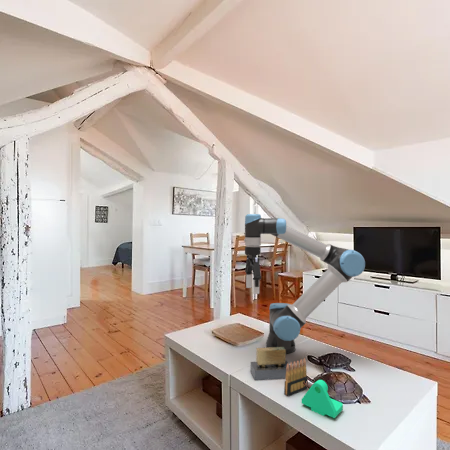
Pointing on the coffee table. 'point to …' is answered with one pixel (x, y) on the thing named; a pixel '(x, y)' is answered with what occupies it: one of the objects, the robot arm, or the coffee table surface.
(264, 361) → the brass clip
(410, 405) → the coffee table surface
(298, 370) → the ammunition clip
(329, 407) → the camera mount
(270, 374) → the grey block with holes
